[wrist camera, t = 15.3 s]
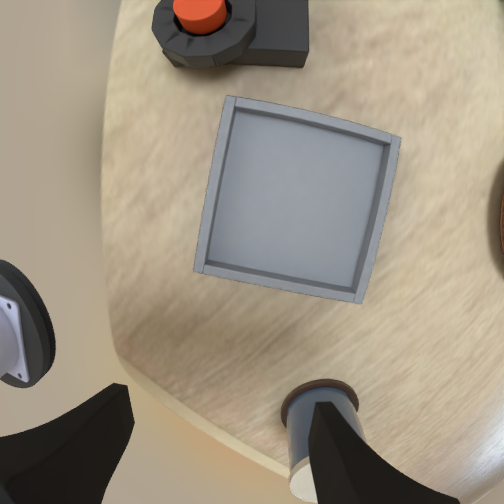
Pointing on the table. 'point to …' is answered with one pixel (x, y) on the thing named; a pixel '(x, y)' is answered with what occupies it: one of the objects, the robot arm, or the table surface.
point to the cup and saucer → (502, 223)
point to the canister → (298, 435)
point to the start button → (200, 15)
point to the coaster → (317, 384)
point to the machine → (238, 35)
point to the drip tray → (295, 200)
